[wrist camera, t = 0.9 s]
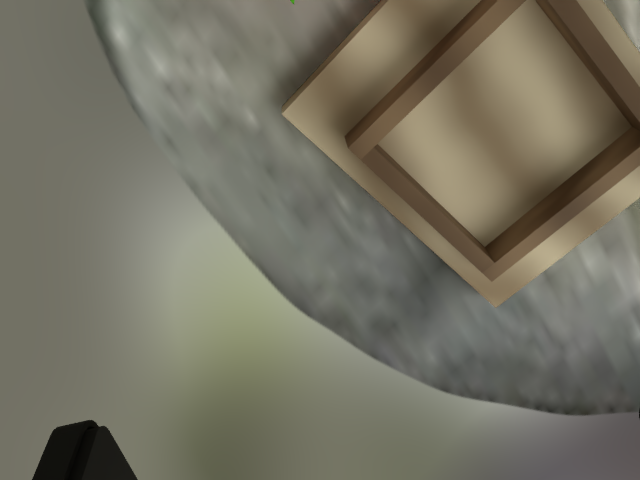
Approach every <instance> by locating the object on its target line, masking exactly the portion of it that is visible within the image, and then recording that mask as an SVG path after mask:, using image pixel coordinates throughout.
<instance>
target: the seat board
mask: <svg viewBox="0 0 640 480" xmlns="http://www.w3.org/2000/svg"><path fill="white" fill-rule="evenodd" d="M282 115H283V116H284V117H285V118H286V119H288V120H289V121H290V122H291V123H292V124H293V125H294V126H295V127H296V128H297V129H299V130H300V131H301V132H302V133H303V134H304V135H305V136H306V137H307V138H309V139H310V140H311V141H312V142H313V143H314V144H315V145H316V146H317V147H318V148H320V149H321V150H322V151H323V152H324V153H325V154H326V155H327V156H328V157H330V158H331V159H332V160H333V161H334V162H335V163H336V164H337V165H338V166H339V167H341V168H342V169H343V170H344V171H345V172H346V173H347V174H348V175H349V176H351V177H352V178H353V179H354V180H355V181H356V182H357V183H358V184H359V185H360V186H362V187H363V188H364V189H365V190H366V191H367V192H368V193H369V194H370V195H372V196H373V197H374V198H375V199H376V200H377V201H378V202H379V203H380V204H381V205H383V206H384V207H385V208H386V209H387V210H388V211H389V212H390V213H391V214H393V215H394V216H395V217H396V218H397V219H398V220H399V221H400V222H401V223H402V224H404V225H405V226H406V227H407V228H408V229H409V230H410V231H411V232H412V233H414V234H415V235H416V236H417V237H418V238H419V239H420V240H421V241H422V242H423V243H425V244H426V245H427V246H428V247H429V248H430V249H431V250H432V251H433V252H435V253H436V254H437V255H438V256H439V257H440V258H441V259H442V260H443V261H444V262H446V263H447V264H448V265H449V266H450V267H451V268H452V269H453V270H454V271H456V272H457V273H458V274H459V275H460V276H461V277H462V278H463V279H464V280H465V281H467V282H468V283H469V284H470V285H471V286H472V287H473V288H474V289H475V290H477V291H478V292H479V293H480V294H481V295H482V296H483V297H484V298H485V299H486V300H488V301H489V302H490V303H491V304H492V305H493V306H494V307H495V308H496V307H498V306H499V305H500V304H502V303H503V302H504V301H505V300H507V299H508V298H509V297H511V296H512V295H513V294H515V293H516V292H517V291H519V290H520V289H521V288H522V287H524V286H525V285H526V284H528V283H529V282H530V281H532V280H533V279H534V278H535V277H537V276H538V275H539V274H541V273H542V272H543V271H545V270H546V269H547V268H549V267H550V266H551V265H552V264H554V263H555V262H556V261H558V260H559V259H560V258H562V257H563V256H564V255H565V254H567V253H568V252H569V251H571V250H572V249H573V248H575V247H576V246H577V245H579V244H580V243H581V242H582V241H584V240H585V239H586V238H588V237H589V236H590V235H592V234H593V233H594V232H595V231H597V230H598V229H599V228H601V227H602V226H603V225H605V224H606V223H607V222H609V221H610V220H611V219H612V218H614V217H615V216H616V215H618V214H619V213H620V212H622V211H623V210H624V209H626V208H627V207H628V206H629V205H631V204H632V203H633V202H635V201H636V200H637V199H639V198H640V53H639V51H638V50H637V48H636V47H635V46H634V44H633V43H632V41H631V40H630V39H629V37H628V36H627V34H626V33H625V31H624V30H623V29H622V27H621V26H620V24H619V23H618V22H617V20H616V19H615V17H614V16H613V14H612V13H611V12H610V10H609V9H608V7H607V6H606V5H605V3H604V2H603V0H381V1H380V2H379V3H378V4H377V5H376V6H375V7H374V8H373V10H372V11H371V12H370V13H369V14H368V15H367V16H366V17H365V18H364V19H363V20H362V21H361V22H360V23H359V25H358V26H357V27H356V28H355V29H354V30H353V31H352V32H351V33H350V34H349V35H348V36H347V37H346V39H345V40H344V41H343V42H342V43H341V44H340V45H339V46H338V47H337V48H336V49H335V50H334V51H333V52H332V54H331V55H330V56H329V57H328V58H327V59H326V60H325V61H324V62H323V63H322V64H321V65H320V66H319V67H318V69H317V70H316V71H315V72H314V73H313V74H312V75H311V76H310V77H309V78H308V79H307V80H306V81H305V82H304V84H303V85H302V86H301V87H300V88H299V89H298V90H297V91H296V92H295V93H294V94H293V95H292V96H291V98H290V99H289V100H288V101H287V102H286V103H285V104H284V105H283V106H282Z"/></svg>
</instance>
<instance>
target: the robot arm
mask: <svg viewBox="0 0 640 480" xmlns="http://www.w3.org/2000/svg"><path fill="white" fill-rule="evenodd" d="M639 418H640V410H639ZM32 480H137V478H136V476H135V474H134V473H133V471H132V469H131V467H130V466H129V464H128V462H127V461H126V459H125V457H124V455H123V454H122V452H121V450H120V448H119V447H118V445H117V443H116V442H115V440H114V438H113V436H112V435H111V433H110V431H109V430H108V428H107V427H105V426H101V427H99V426H98V425H97V424H96V422H94V421H93V420H87V421H83V422H78V423H74V424H69V425H65V426H60V427H57V428H56V429H54V430H53V432H52V434H51V435H50V438H49V440H48V443H47V445H46V447H45V450H44V452H43V455H42V457H41V460H40V462H39V464H38V467H37V469H36V472H35V474H34V477H33V479H32Z"/></svg>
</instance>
